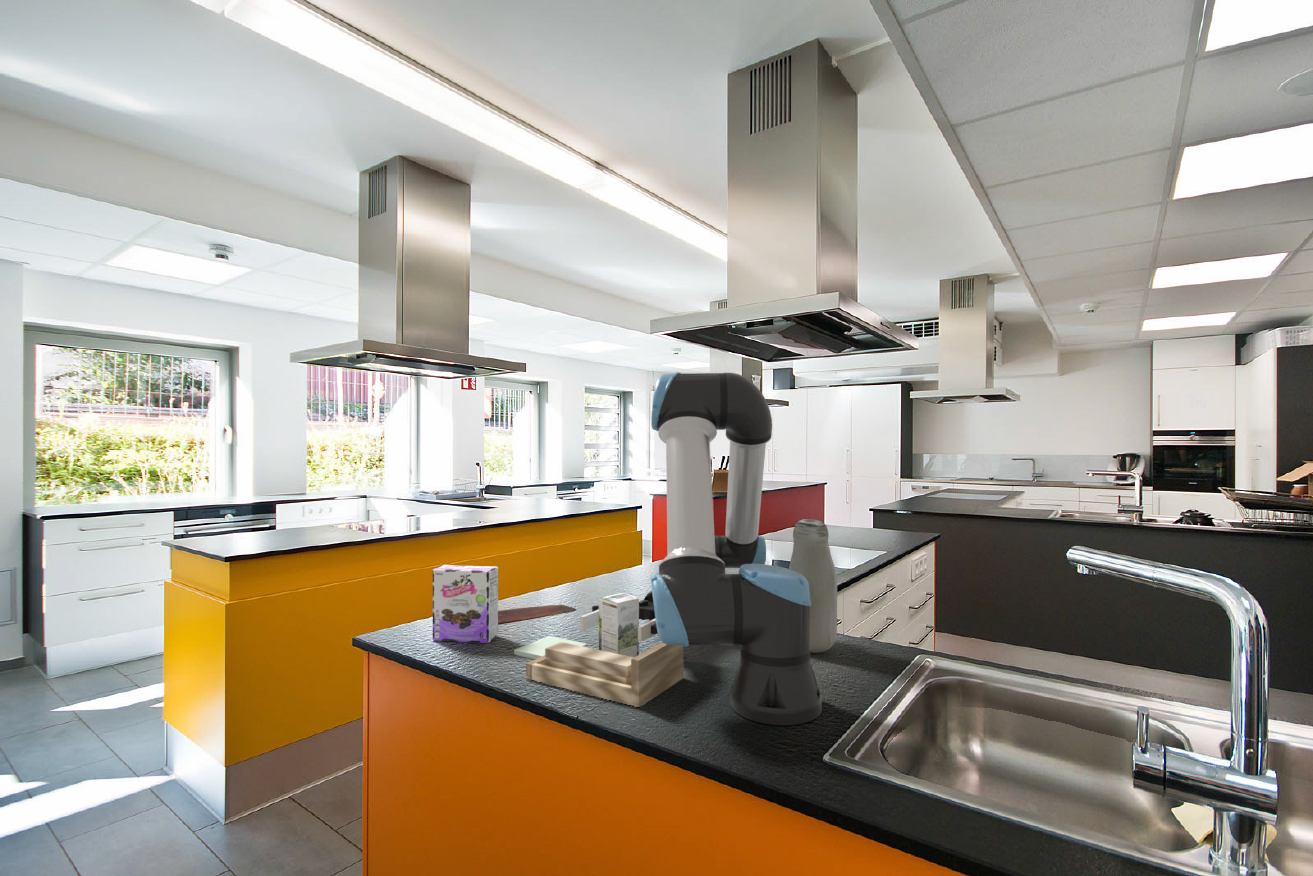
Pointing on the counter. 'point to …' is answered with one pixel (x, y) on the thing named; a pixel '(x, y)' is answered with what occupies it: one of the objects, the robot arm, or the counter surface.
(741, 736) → the counter surface
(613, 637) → the syrup box
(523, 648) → the sage mat
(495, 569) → the candy box
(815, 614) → the glass bottle
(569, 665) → the offcut stack
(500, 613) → the wooden tablet
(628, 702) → the birch rack
